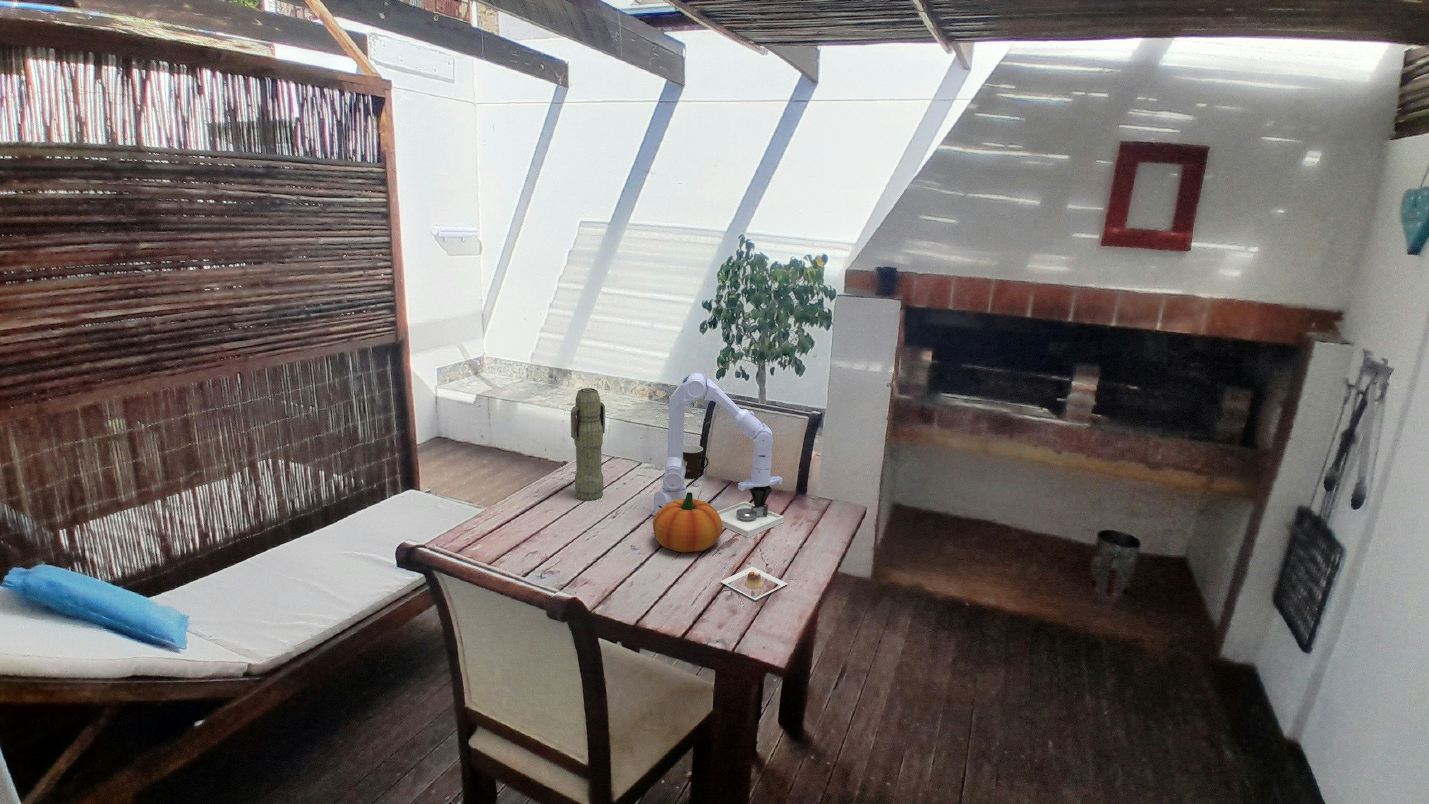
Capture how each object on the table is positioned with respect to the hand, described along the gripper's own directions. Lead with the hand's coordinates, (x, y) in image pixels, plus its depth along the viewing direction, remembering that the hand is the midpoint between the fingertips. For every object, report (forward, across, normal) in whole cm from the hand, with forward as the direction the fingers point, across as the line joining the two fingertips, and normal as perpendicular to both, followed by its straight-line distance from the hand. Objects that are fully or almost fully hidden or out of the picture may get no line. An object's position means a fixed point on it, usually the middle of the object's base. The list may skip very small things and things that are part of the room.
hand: (759, 509), depth 217 cm
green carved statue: (+3, +41, -37) cm, 55 cm away
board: (+3, +5, +1) cm, 6 cm away
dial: (+1, +3, +1) cm, 4 cm away
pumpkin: (+3, +27, +6) cm, 28 cm away
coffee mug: (+3, +3, -39) cm, 39 cm away
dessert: (+3, +23, +35) cm, 42 cm away
